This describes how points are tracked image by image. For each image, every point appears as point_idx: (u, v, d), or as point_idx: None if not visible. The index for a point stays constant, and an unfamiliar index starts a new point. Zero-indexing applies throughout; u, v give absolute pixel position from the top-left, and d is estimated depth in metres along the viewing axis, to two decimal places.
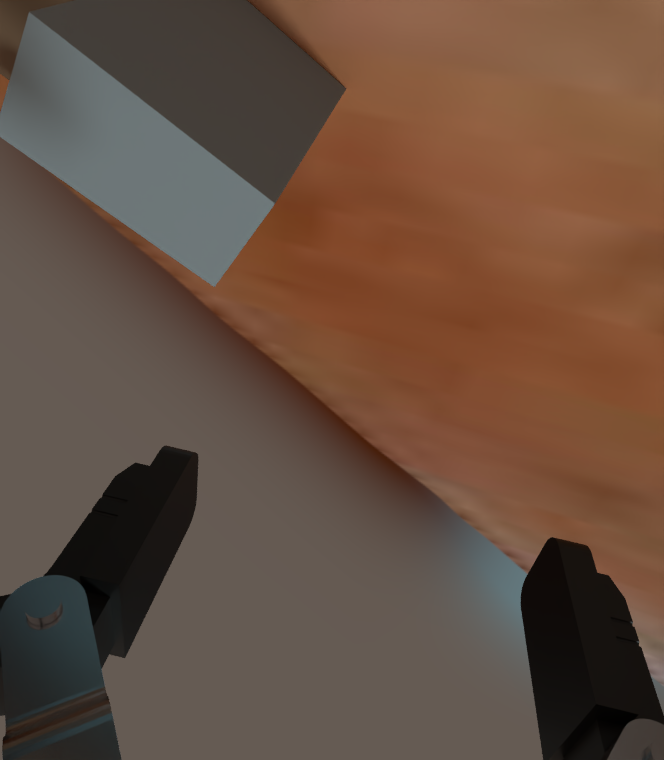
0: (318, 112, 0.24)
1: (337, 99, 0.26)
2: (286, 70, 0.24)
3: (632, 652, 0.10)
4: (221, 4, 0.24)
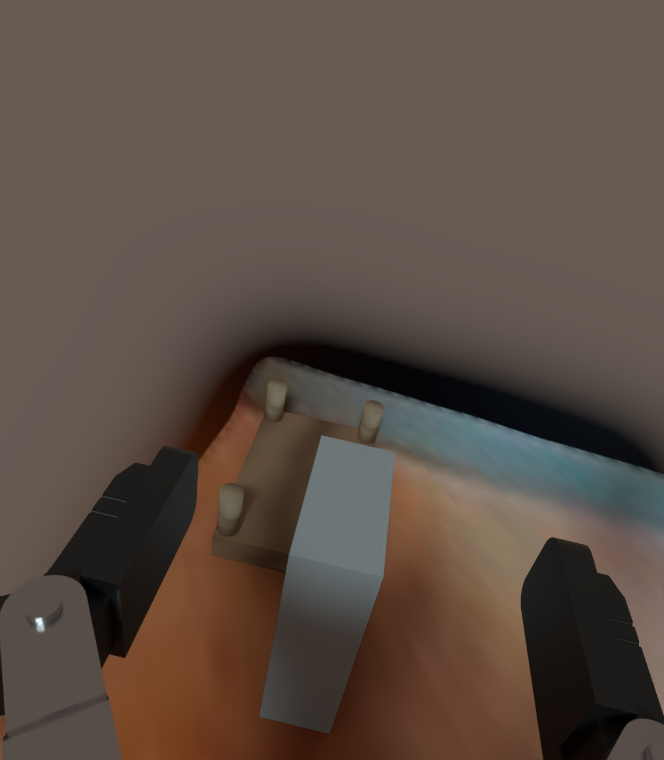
0: None
1: None
2: None
3: (632, 652, 0.10)
4: None
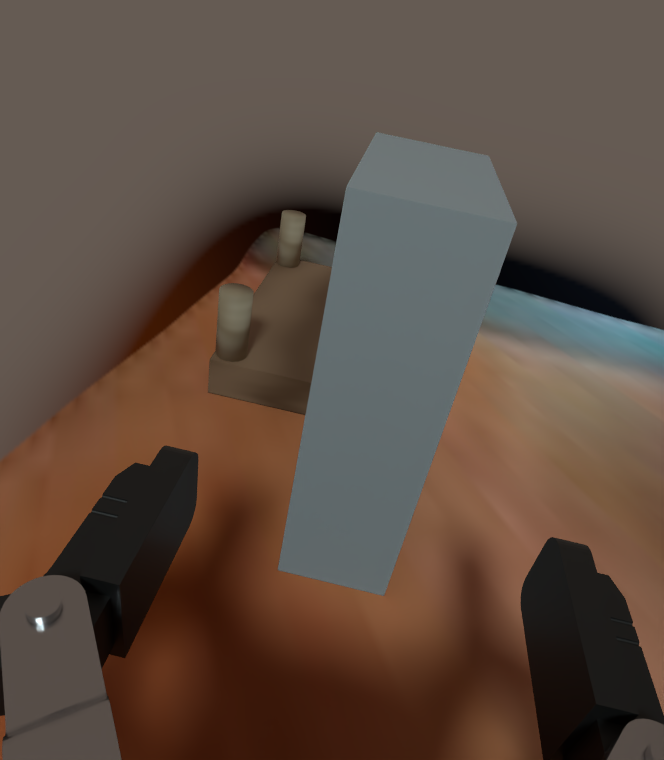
0: None
1: (397, 556, 0.19)
2: None
3: (632, 652, 0.10)
4: None
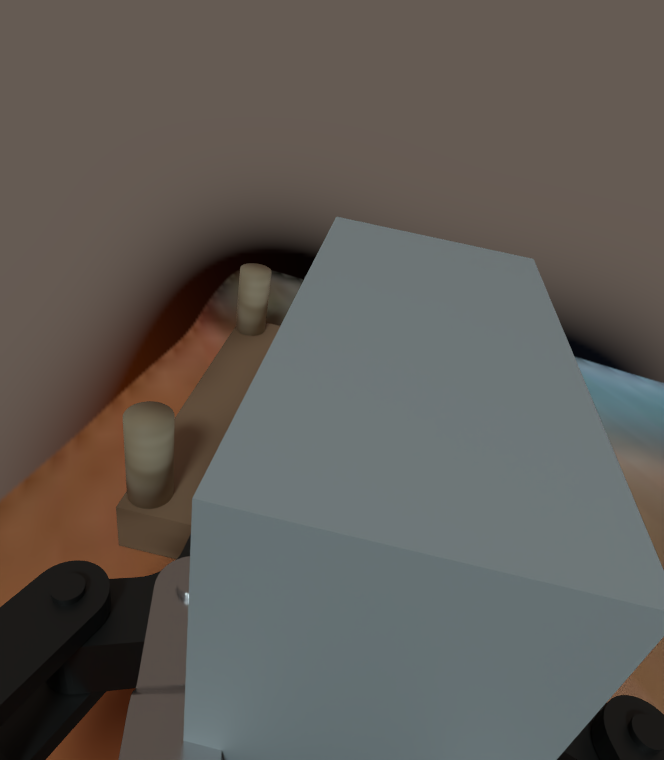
0: None
1: None
2: None
3: None
4: None
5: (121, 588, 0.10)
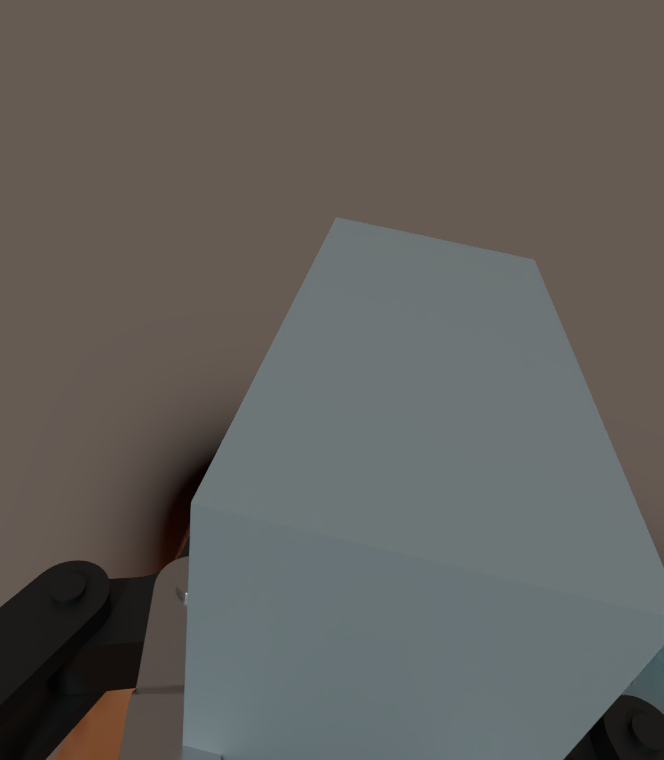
0: None
1: None
2: None
3: None
4: None
5: (121, 588, 0.10)
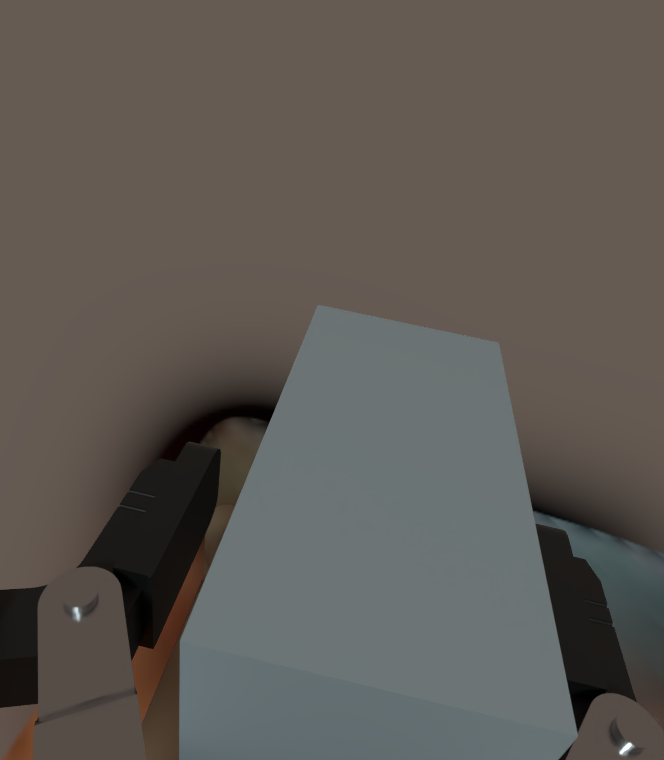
0: None
1: None
2: None
3: (605, 632, 0.10)
4: None
5: (10, 600, 0.09)
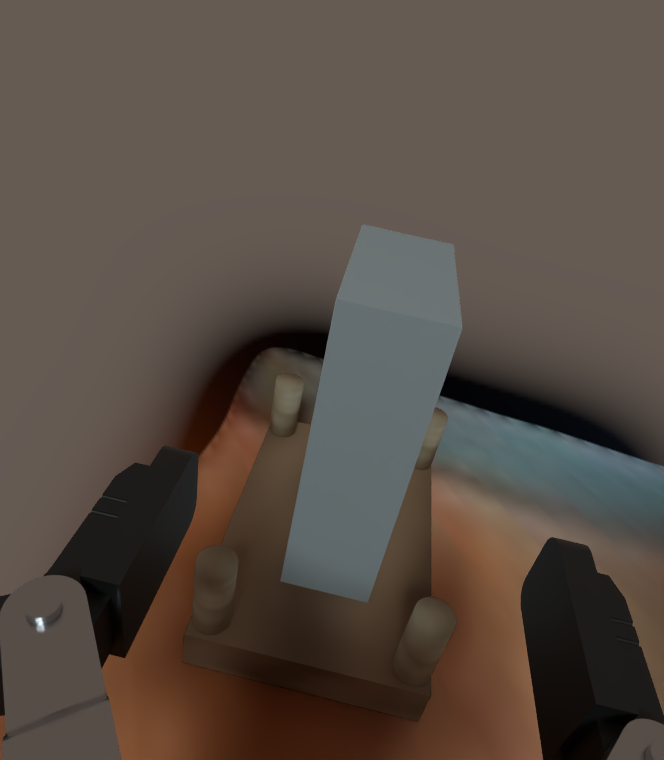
0: None
1: (378, 570, 0.24)
2: None
3: (632, 652, 0.10)
4: None
5: None
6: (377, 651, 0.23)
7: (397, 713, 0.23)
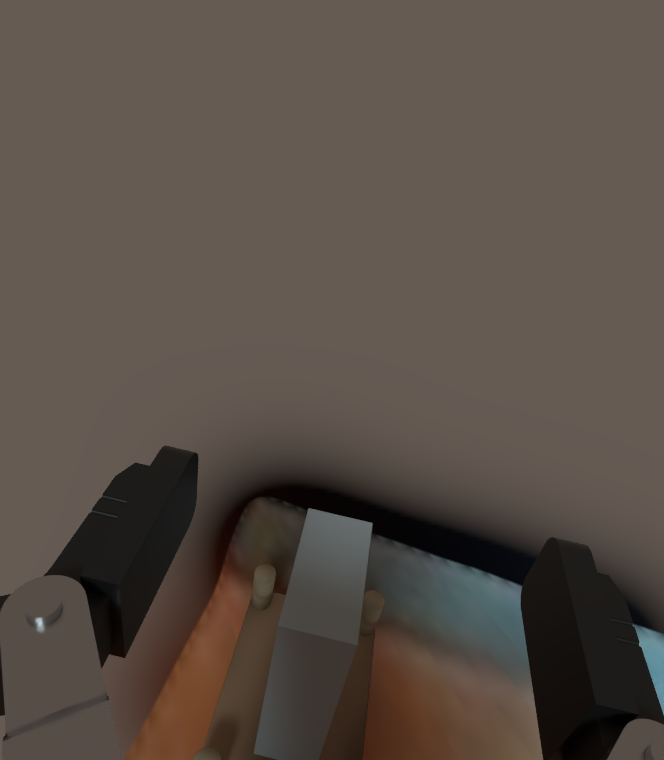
0: None
1: (320, 752, 0.34)
2: None
3: (632, 652, 0.10)
4: None
5: None
6: None
7: None
